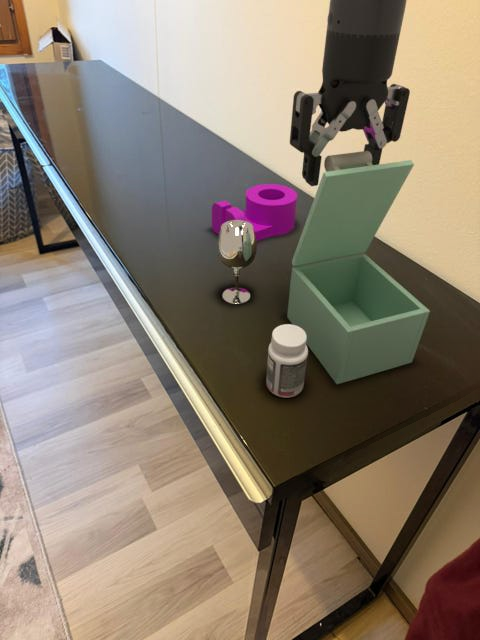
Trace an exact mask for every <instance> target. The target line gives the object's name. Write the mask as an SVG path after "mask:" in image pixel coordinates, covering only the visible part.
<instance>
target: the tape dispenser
mask: <svg viewBox="0 0 480 640" xmlns="http://www.w3.org/2000/svg"><path fill="white" fill-rule="evenodd" d="M297 201H298V193H297V192H296V191H295V190H294V189H293V188H291V187H288V186H285V185H281V184H276V183H275V184H274V183H264V184H257V185H254V186H252V187H250V188H248V189H247V190H246V192H245V208H244V209H245V210H241V209H239V208H238V207H236V206H233V207H232V203H230V202H229V201H227V200H221V201H217V202H214V203H213V204H212V206H211V231H213V233H215V234H217V236H219V233H220V229H221V226H222V224H223V223H225V222H227V221H231V220H243V221H247V222H249V223H251V224H252V225H253V227H254V231H255V236H256V242H259V241H261V240H264V239H267V238H270V237H276V236H282V235H286V234H288V233H290V232H292V231H293V230H294V228H295V223H296V212H297V203H298V202H297Z"/></svg>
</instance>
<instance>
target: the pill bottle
mask: <svg viewBox="0 0 480 640" xmlns="http://www.w3.org/2000/svg"><path fill="white" fill-rule="evenodd" d="M306 340H307V335H306V333H305V331H304V330H303V329H302V328H300V327H298V326H296V325H293V324H292V323H291V324H290V323H285V324H280V325H278V326H276V327H274V329H273V330H272V333H271V339H270V343H269V345H268V348H267V364H266V380H265V385H266V387H267V389H268V391H269V392H271V394H273V395H274V396H277V397H279V398H282V399H283V398H284V399H286V398H288V399H289V398H293V397H296V396H297V395H299V394H300V393H301V392H302V391H303V389H304V385H305V380H306V379H305V378H306V371H307V363H308V357H309V349H308V348H309V347H308V345H307V343H306Z"/></svg>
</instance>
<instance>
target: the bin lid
mask: <svg viewBox="0 0 480 640" xmlns="http://www.w3.org/2000/svg"><path fill="white" fill-rule="evenodd" d="M323 166H324V170H325V171H323V173H322V176H321V178H320V180H319V181H320V182H319V183H318V187H317V190H316V192H315V195H314V198H313V201H312V204H311V207H310V210H309V212H308V215H307V218H306V221H305V223H304V226H303V229H302V232H301V234H300V237H299V240H298V243H297V246H296V249H295V251H294V254H293V257H292V260H291V264H292V267H297V266H302V265H307V264H312V263H317V262H322V261H327V260H332V259H337V258H342V257H347V256H352V255H357V254H362V253H366V252H367V251H368V249H369V247H370V245H371V243H372V241H373V240H374V238H375V236H376V234H377V233H378V231H379V229H380V227H381V225H382V223H383V222H384V221H385V218H386V216H387V215H388V212H389V211H390V209H391V207H392V205H393V204H394V203H395V200H396V198H397V197H398V195H399V193H400V191H401V189H402V187H403V185H404V184H405V182H406V180H407V178H408V176H409V175H410V173H411V171H412V169H413V167H414V166H415V163H414V161H413V160H412V159H408V160H401V161H395V162H393V161H392V162H386V163H379V165H373V164H372V155H371V153H370V152H369V151H364V150H361V151H356V152H355V151H354V152H346V153H338V154H331V155H327V156H325V158H324V163H323Z"/></svg>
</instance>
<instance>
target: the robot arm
mask: <svg viewBox="0 0 480 640" xmlns="http://www.w3.org/2000/svg"><path fill="white" fill-rule="evenodd" d="M406 6H407V0H329V6H328V14H327V18H326V19H327V21H326V22H327V24H326V33H325V41H324V51H323V60H322V68H321V74H322V83H321V86H320V88H319V90H318V92H311V93H306V92H304V91H302V90H297V91H295V93H294V95H293V98H292V99H293V102H292V113H291V121H290V122H291V123H290V133H289V134H290V135H289V145H290V146H292V147H293V148H294V149H296V150H297V151H298V152H300V153H301V154H303V159H302V160H303V161H302V170H301V176H302V178H303V179H304V181H305V183H306V184H308V185H309V186H310V187H316V186H319V183H320V182H319V181H320V173H321V167H322V166H321V165H322V158H323V156H322V155H321V154H322V152H323V151H324V149H325V148H326V146H327V145H328V143H329V142H330V141H333V140H334V139H335V138H336V136H337V135H338V133H339V132H340V133H342V132H349V131H350V130H357V131H360V130H361V131H363V133H364V136H365V138H366V141H367V143H366V144H364V147H363V151H369V152H370V153H371V155H372V164H373V165H379V164H381V157H382V153H383V149H384V148H385V147H386V145H387V144H389V143H391V142H394V143H396V142H398V141H399V139H400V138H401V134H402V129H403V125H404V122H405V116H406V111H407V107H408V104H409V99H410V93H411V91H410V89H409V88H407V87H405V86H404V85H400V84H397V83H392V84H391V85H389V86H388V80H389V79H390V78H391V77H392V75H393V71H394V66H395V61H396V56H397V50H398V46H399V42H400V36H401V32H402V31H401V30H402V27H403V21H404V15H405V10H406ZM384 104H385V106H384V110H383V116H382V119H381V116H380V112H379V111H380V109H381V108H382V106H383V105H384ZM318 106H319V108H320V110H321V111H320V112H319V114H318V116H317V117H316V118H315V120H314V122H313V123H312V121H313V120H312V119H313V115H315V114H316V112H317V108H318ZM327 124H328V126H327V127H326V125H327Z"/></svg>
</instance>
